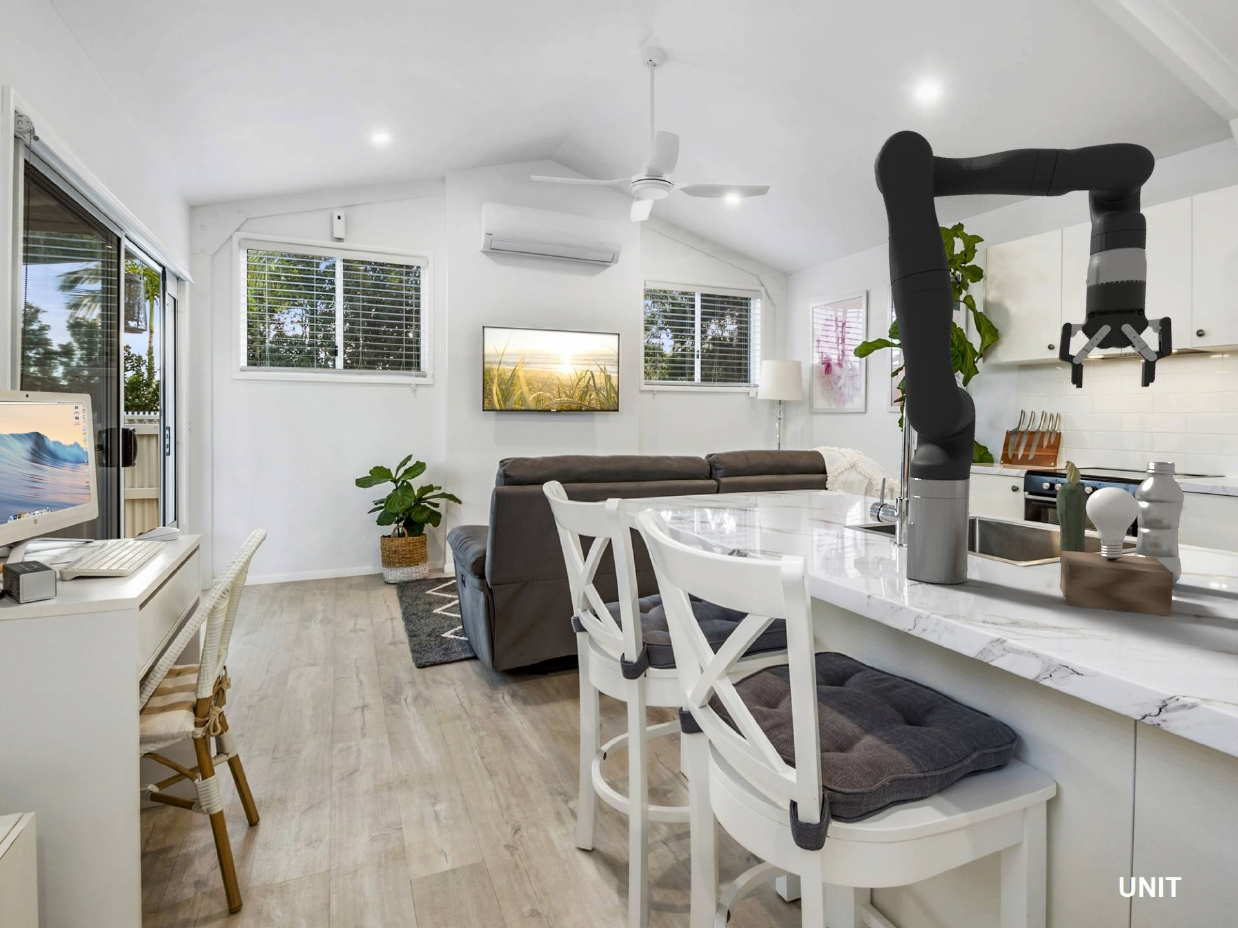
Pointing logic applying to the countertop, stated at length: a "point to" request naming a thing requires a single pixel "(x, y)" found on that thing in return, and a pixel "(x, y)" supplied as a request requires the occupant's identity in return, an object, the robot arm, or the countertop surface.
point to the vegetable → (1072, 511)
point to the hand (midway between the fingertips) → (1111, 387)
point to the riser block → (1116, 583)
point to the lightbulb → (1112, 518)
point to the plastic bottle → (1160, 516)
